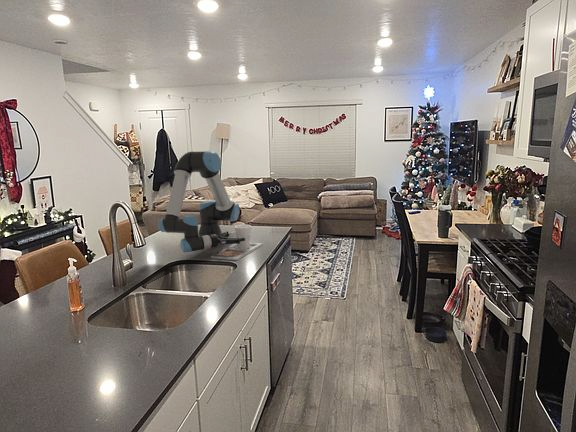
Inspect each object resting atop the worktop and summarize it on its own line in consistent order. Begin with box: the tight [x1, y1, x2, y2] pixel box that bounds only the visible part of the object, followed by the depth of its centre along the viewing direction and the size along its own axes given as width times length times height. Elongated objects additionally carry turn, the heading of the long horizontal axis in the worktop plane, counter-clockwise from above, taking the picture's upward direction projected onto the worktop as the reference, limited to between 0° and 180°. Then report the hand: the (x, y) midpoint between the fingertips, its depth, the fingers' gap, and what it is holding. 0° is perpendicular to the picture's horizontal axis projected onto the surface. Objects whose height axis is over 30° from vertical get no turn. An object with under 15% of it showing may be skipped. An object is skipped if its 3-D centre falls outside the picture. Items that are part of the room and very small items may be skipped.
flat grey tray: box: [210, 241, 263, 261], centre depth 220 cm, size 31×16×1 cm, turn 158°
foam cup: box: [234, 224, 252, 250], centre depth 225 cm, size 10×9×13 cm
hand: (244, 235), depth 225 cm, fingers open, 13 cm apart
